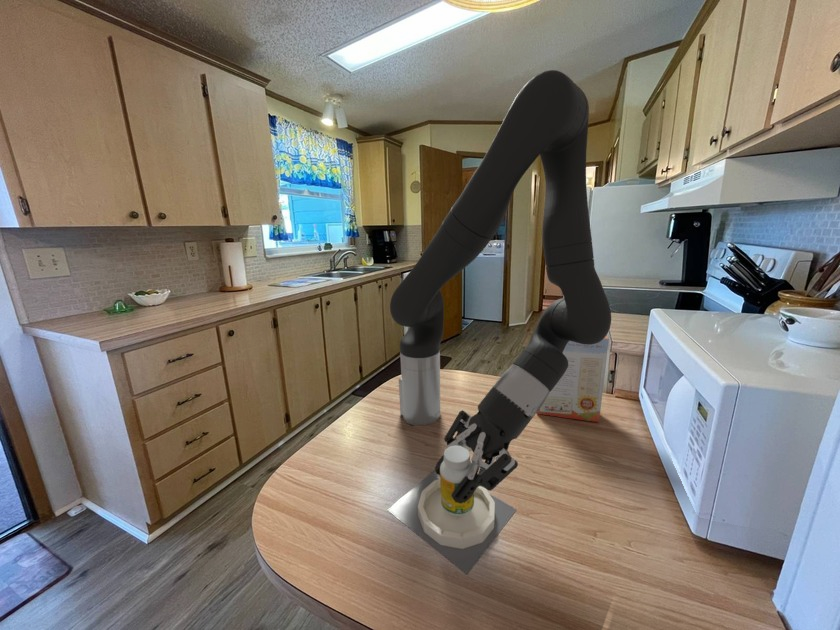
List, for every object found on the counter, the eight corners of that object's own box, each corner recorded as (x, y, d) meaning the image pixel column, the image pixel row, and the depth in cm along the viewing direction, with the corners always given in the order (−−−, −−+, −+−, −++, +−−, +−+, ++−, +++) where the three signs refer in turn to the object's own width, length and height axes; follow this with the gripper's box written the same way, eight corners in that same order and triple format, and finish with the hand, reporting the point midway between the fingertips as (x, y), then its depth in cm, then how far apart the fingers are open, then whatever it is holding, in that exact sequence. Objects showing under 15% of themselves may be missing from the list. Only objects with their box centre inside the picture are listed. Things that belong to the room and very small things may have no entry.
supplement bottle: (459, 486, 58) (459, 438, 56) (481, 507, 54) (482, 455, 51) (434, 501, 55) (432, 450, 53) (454, 524, 51) (454, 470, 48)
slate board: (387, 512, 56) (386, 509, 56) (440, 467, 66) (440, 465, 66) (466, 577, 46) (466, 574, 45) (516, 512, 55) (516, 509, 55)
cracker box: (595, 410, 84) (605, 330, 78) (599, 423, 78) (610, 338, 73) (535, 402, 88) (541, 325, 83) (535, 414, 83) (541, 333, 77)
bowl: (404, 516, 55) (403, 507, 54) (449, 475, 63) (449, 467, 63) (465, 564, 47) (465, 554, 46) (508, 510, 55) (508, 501, 55)
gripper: (475, 370, 59) (413, 449, 58) (531, 411, 46) (453, 513, 45) (500, 391, 62) (442, 466, 61) (558, 435, 49) (486, 531, 48)
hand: (447, 485), depth 53 cm, fingers closed on supplement bottle, 5 cm apart
